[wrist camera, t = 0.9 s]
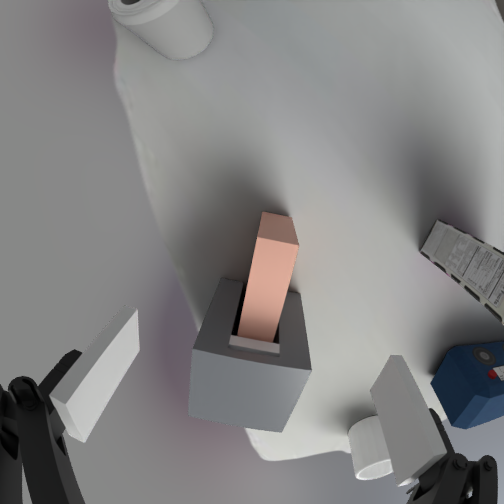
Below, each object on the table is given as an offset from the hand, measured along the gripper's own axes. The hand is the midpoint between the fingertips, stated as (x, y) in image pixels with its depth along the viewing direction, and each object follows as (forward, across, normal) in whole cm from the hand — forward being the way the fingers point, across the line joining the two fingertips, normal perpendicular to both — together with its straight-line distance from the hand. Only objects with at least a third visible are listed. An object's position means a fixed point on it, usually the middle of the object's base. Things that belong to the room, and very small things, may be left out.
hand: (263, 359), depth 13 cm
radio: (+18, +40, -12) cm, 45 cm away
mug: (+18, +27, -29) cm, 43 cm away
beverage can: (+18, -13, +21) cm, 31 cm away
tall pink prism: (+18, 0, -4) cm, 18 cm away
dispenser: (+18, 0, -9) cm, 20 cm away
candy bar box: (+18, +23, +4) cm, 29 cm away
